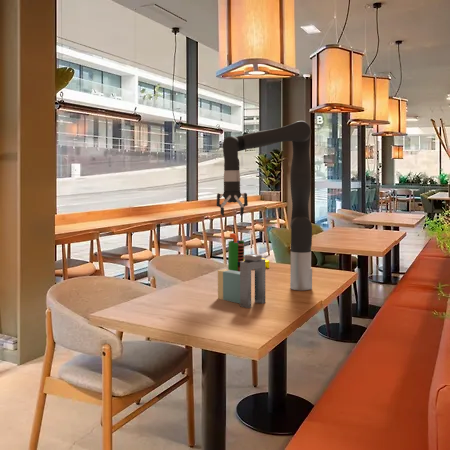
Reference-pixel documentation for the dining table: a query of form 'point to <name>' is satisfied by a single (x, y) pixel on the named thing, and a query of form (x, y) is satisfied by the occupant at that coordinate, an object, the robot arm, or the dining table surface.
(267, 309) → the dining table surface
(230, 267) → the motor
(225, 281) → the sage green rectangular prism
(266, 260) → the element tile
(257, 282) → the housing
